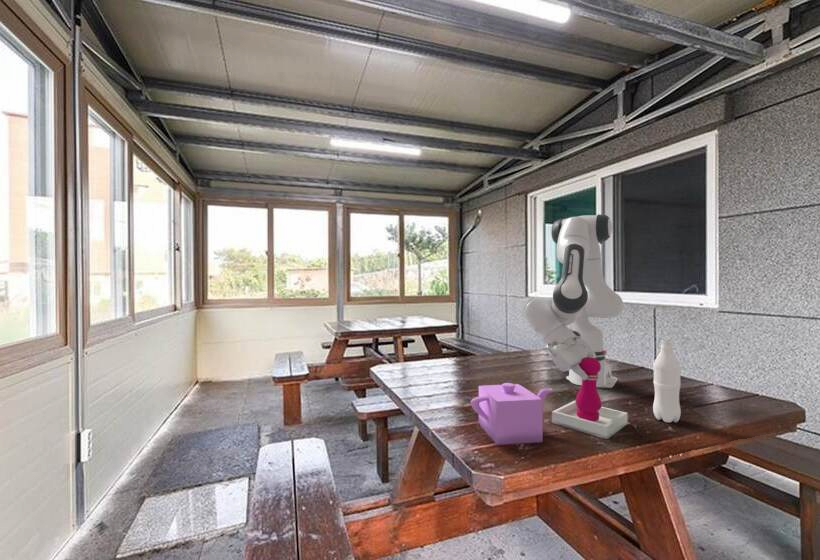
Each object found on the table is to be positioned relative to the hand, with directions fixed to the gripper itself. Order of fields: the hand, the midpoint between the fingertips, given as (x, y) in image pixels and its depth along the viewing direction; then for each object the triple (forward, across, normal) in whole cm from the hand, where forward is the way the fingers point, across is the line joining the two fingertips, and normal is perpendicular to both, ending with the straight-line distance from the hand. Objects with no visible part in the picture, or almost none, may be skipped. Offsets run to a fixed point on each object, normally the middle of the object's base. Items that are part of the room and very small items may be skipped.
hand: (591, 376), depth 115 cm
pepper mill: (+8, 0, +10) cm, 13 cm away
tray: (+10, 0, +11) cm, 14 cm away
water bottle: (+20, +21, 0) cm, 29 cm away
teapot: (+1, -23, +20) cm, 30 cm away
